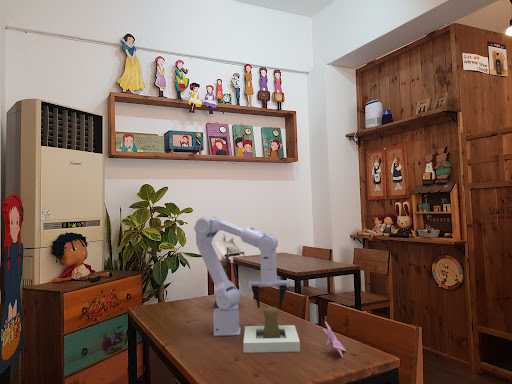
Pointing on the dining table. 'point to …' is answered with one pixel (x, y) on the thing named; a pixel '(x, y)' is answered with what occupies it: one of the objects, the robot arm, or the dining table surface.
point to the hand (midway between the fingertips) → (269, 307)
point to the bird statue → (226, 255)
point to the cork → (271, 323)
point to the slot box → (271, 340)
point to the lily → (333, 340)
